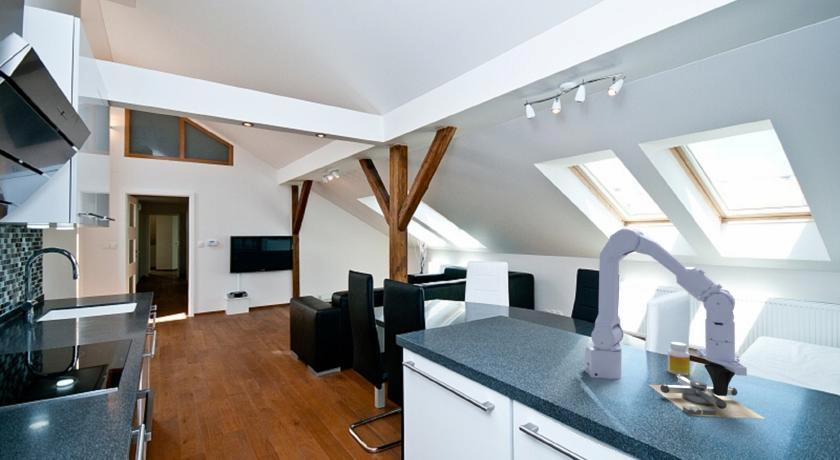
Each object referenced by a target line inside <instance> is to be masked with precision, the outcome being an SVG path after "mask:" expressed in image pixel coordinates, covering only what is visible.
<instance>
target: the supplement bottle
mask: <svg viewBox="0 0 840 460" xmlns="http://www.w3.org/2000/svg"><path fill="white" fill-rule="evenodd" d="M687 349H688V347H687V344H686V343H684V342H679V341H678V342H677V341H671V342H670V348H669V349H668V351H667V372H669V373H670V374H672V375H677V374H680V375H682V376H683V377H686V376H687V377H688V376H690V375H691V374H690V372H691V371H690V370H691V369H690V365H691V364H690V361H691V359H690V353H689V352H688V351H687Z"/></svg>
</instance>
